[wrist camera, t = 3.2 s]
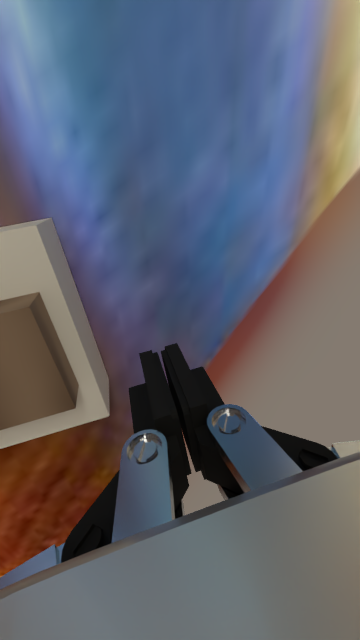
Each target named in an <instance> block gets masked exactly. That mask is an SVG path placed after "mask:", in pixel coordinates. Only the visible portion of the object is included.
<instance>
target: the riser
mask: <svg viewBox="0 0 360 640" xmlns="http://www.w3.org/2000/svg"><path fill="white" fill-rule="evenodd" d="M36 292H40V295H41V297H42V299H43V302H44V304H45V306H46V309H47V311H48V314H49V316H50V318H51V321H52V323H53V325H54V328H55V330H56V332H57V335H58V337H59V339H60V342H61V344H62V346H63V349H64V351H65V353H66V356H67V358H68V361H69V363H70V365H71V368H72V370H73V372H74V375H75V377H76V379H77V382H78V384H79V388H78V395H77V402H76V408H75V409H72V410H69V411H65V412H62V413H58V414H55V415H51V416H48V417H44V418H41V419H38V420H34V421H31V422H27V423H24V424H20V425H17V426H13V427H10V428H7V429H3V430H0V449H2V448H5V447H8V446H12V445H15V444H18V443H22V442H25V441H28V440H32V439H35V438H38V437H42V436H45V435H48V434H52V433H55V432H58V431H62V430H65V429H68V428H72V427H75V426H78V425H82V424H85V423H88V422H92V421H95V420H98V419H102V418H105V417H108V416H110V413H109V378H108V375H107V372H106V369H105V367H104V364H103V361H102V358H101V355H100V353H99V350H98V347H97V344H96V341H95V338H94V336H93V333H92V330H91V327H90V324H89V322H88V319H87V316H86V313H85V310H84V308H83V305H82V302H81V299H80V296H79V294H78V291H77V288H76V285H75V282H74V280H73V277H72V274H71V271H70V268H69V265H68V263H67V260H66V257H65V254H64V251H63V249H62V246H61V243H60V240H59V237H58V235H57V232H56V229H55V226H54V223H53V221H52V218H46V219H41V220H36V221H31V222H25V223H20V224H15V225H10V226H4V227H0V301H1V300H5V299H10V298H14V297H19V296H23V295H27V294H32V293H36Z"/></svg>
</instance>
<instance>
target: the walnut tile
mask: <svg viewBox="0 0 360 640" xmlns="http://www.w3.org/2000/svg"><path fill="white" fill-rule="evenodd" d="M78 388H79V384H78V382H77V379H76V377H75V375H74V372H73V370H72V368H71V365H70V363H69V361H68V358H67V356H66V353H65V351H64V349H63V346H62V344H61V342H60V339H59V337H58V335H57V332H56V330H55V328H54V325H53V323H52V321H51V318H50V316H49V314H48V311H47V309H46V306H45V304H44V302H43V299H42V297H41V295H40V292H36V293H32V294H27V295H23V296H19V297H14V298H10V299H5V300H1V301H0V430H3V429H7V428H10V427H13V426H17V425H20V424H24V423H27V422H31V421H34V420H38V419H41V418H44V417H48V416H51V415H55V414H58V413H62V412H65V411H69V410H72V409H75V408H76V402H77V395H78Z"/></svg>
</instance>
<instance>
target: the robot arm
mask: <svg viewBox="0 0 360 640" xmlns="http://www.w3.org/2000/svg"><path fill="white" fill-rule="evenodd" d="M139 354H140V359H141V364H142V368H143V373H144V377H145V382H146V383H144V384H141V385H137V386H134V387H131V388H129V395H130V404H131V412H132V420H133V428H134V435H132V436H131V437H130V438H129V439H128V440H127V441H126V443H125V445H124V446H123V450H122V454H121V463H120V470H119V471H118V473H117V474H116V475H115V476H114V478H113V479H112V480H111V482H110V483H109V484H108V485H107V487H106V488H105V489H104V490H103V492H102V493H101V494H100V496H99V497H98V498H97V499H96V501H95V502H94V503H93V505H92V506H91V507H90V508H89V510H88V511H87V512H86V513H85V515H84V516H83V517H82V519H81V520H80V521H79V522H78V524H77V525H76V526H75V528H74V529H73V530H72V531H71V533H70V535H69V536H68V538H67V539H66V542H65V543H64V544H62V545H60V546H59V547H56V546H55V544H54V545H53V546H51V547H50V548H48V549H46V550H45V551H43V552H41V553H40V554H38V555H36V556H35V557H33V558H32V559H30V560H28V561H27V562H25V563H23V564H22V565H20V566H18V567H17V568H15V569H13V570H12V571H10V572H9V573H7V574H5V575H4V576H2V577H0V640H360V440H359V441H351V442H341V443H333V444H332V447H329V448H326V447H325V446H323V445H321V444H318V443H316V442H312V441H309V440H306V439H302V438H299V437H296V436H292V435H289V434H286V433H282V432H279V431H276V430H272V429H269V428H266V427H262V426H260V425H259V424H258V423H257V422H256V420H255V419H254V418H253V417H252V416H251V415H250V414H249V413H248V412H247V411H246V410H245V409H243V408H242V407H240V406H237V405H232V404H228V405H225V404H224V402H223V401H222V399H221V397H220V395H219V394H218V392H217V390H216V389H215V387H214V385H213V383H212V382H211V380H210V378H209V376H208V375H207V373H206V371H205V370H204V368H203V367H199V368H196V369H192V370H190V369H189V367H188V365H187V363H186V361H185V359H184V356H183V354H182V352H181V350H180V348H179V346H178V344H177V343H176V344H172V345H168V346H165V350H163V351H161V354H162V358H163V363H164V367H165V371H166V376H167V380H168V383H167V380H166V377H165V374H164V371H163V368H162V365H161V362H160V359H159V356H158V353H157V352H155V353H152V350H150V351H147V352H143V353H139ZM168 384H169V386H168ZM169 388H170V389H169ZM181 429H182V430H181ZM182 432H183V434H182ZM183 435H184V438H185V441H186V444H187V447H188V450H189V453H190V456H191V459H192V462H193V465H194V468H195V471H196V472H198V471H201V472H202V475H203V477H204V479H207V480H209V481H211V482H213V483H216V484H217V485H218V488H219V491H220V493H221V494H222V496H223V498H224V500H225V501H222V502H220V503H217V504H215V505H212V506H209V507H206V508H204V509H201V510H198V511H196V512H193V513H190V514H188V515H184V506H183V501H182V498H183V496H184V494H185V493H186V491H187V489H188V487H189V484H188V479H187V475H189V474H191V469H190V465H189V461H188V456H187V452H186V447H185V443H184V439H183Z"/></svg>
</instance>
